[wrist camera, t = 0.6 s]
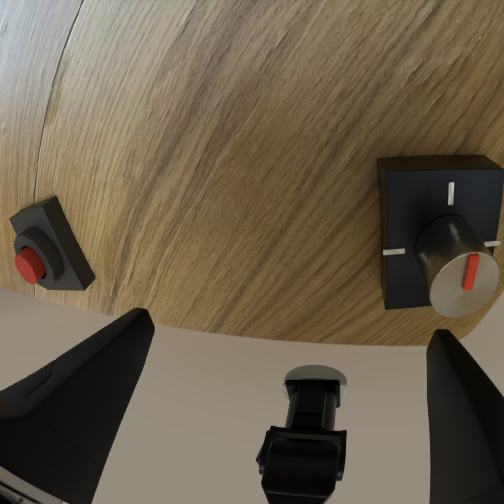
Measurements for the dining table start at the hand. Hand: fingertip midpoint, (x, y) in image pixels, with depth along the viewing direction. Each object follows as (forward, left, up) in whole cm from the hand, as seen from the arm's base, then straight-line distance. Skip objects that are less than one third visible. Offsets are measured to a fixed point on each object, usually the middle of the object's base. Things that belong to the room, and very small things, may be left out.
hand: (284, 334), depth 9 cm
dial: (-4, -8, -10) cm, 14 cm away
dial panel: (-4, -8, -13) cm, 16 cm away
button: (-2, +28, -9) cm, 29 cm away
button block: (-2, +28, -13) cm, 31 cm away
